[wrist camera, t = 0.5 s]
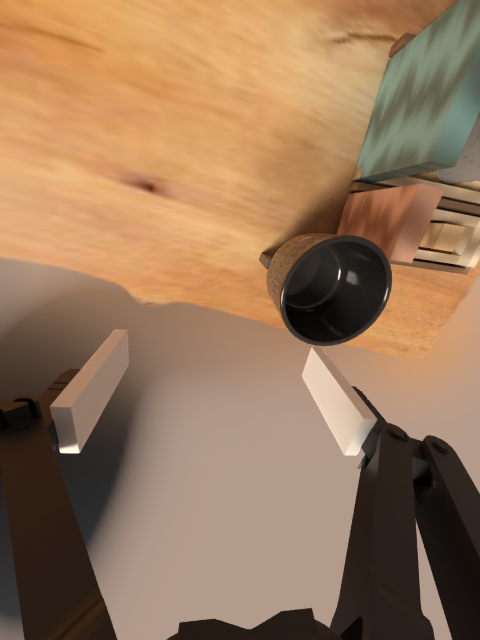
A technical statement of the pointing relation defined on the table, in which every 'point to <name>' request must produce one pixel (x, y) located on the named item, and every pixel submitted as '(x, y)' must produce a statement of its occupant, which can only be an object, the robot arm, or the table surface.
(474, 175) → the speckled stone cylinder
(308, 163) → the table surface
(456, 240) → the oak cube
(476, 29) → the can sled
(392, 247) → the cube sled
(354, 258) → the planter
